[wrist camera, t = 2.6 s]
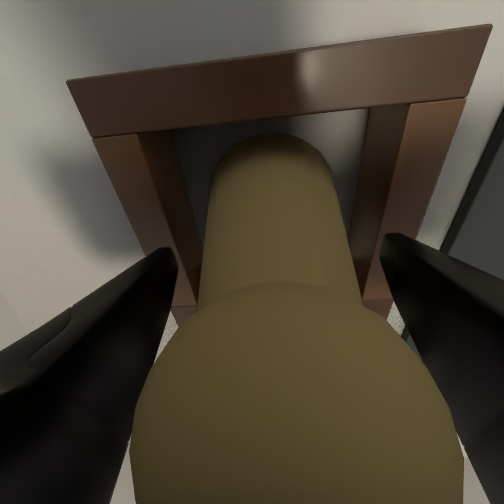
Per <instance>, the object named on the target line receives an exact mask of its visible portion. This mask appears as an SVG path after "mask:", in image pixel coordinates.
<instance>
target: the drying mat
mask: <svg viewBox="0 0 504 504" xmlns="http://www.w3.org/2000/svg"><path fill="white" fill-rule="evenodd" d="M441 252H443V253H445V254H447V255H449V256H452V257H454V258H456V259H458V260H460V261H463V262H465V263H467V264H469V265H471V266H474V267H476V268H478V269H480V270H482V271H485V272H487V273H489V274H491V275H493V276H495V277H498V278H500V279H502V280H504V111H503V113H502V116H501V118H500V120H499V122H498V125H497V127H496V129H495V131H494V133H493V136H492V138H491V140H490V142H489V144H488V147H487V149H486V151H485V153H484V156H483V158H482V160H481V162H480V164H479V167H478V169H477V171H476V173H475V175H474V178H473V180H472V182H471V184H470V187H469V189H468V191H467V193H466V195H465V198H464V200H463V202H462V204H461V206H460V209H459V211H458V213H457V215H456V218H455V220H454V222H453V224H452V226H451V229H450V231H449V233H448V235H447V237H446V240H445V242H444V244H443V246H442V249H441ZM401 338H402V339H403V340H404V341H405V342H406V343H407V345H408V346H409V347H410V348H411V349H412V351H413V352H414V353H415V354H416V355H417V357H418V358H419V359H420V360H421V361H422V359H421V357H420V354H419V352H418V350H417V348H416V346H415V344H414V342H413V340H412V338H411V336H410V334H409V331H408V329H407V327H406V328H405V330H404V333H403V335H402V337H401ZM422 362H423V361H422ZM423 364H424V363H423Z"/></svg>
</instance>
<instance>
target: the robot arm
mask: <svg viewBox="0 0 504 504" xmlns="http://www.w3.org/2000/svg"><path fill="white" fill-rule="evenodd" d="M379 259H380V262H381V265H382V268H383V271H384V274H385V277H386V280H387V283H388V286H389V290H390V292H391V295H392V298H393V300H394V302H395V304H396V306H397V308H398V310H399V313H400V315H401V317H402V319H403V321H404V323H405V325H406V327H407V329H408V331H409V334H410V336H411V338H412V340H413V342H414V344H415V346H416V348H417V350H418V352H419V354H420V357H421V359H422V361H423V363H424V365H425V366H426V367H427V369H428V371H429V373H430V374H431V376H432V378H433V380H434V381H435V383H436V385H437V387H438V389H439V390H440V392H441V394H442V396H443V398H444V399H445V401H446V403H447V405H448V406H449V408H450V412H451V415H452V419H453V422H454V426H455V429H456V432H457V434H458V436H459V438H460V440H461V442H462V445H463V446H465V447H464V449H465V451H466V453H467V456H468V458H469V460H470V462H471V464H472V466H473V468H474V470H475V472H476V474H477V477H478V479H479V480H480V483H481V485H482V487H483V489H484V491H485V493H486V495H487V497H488V500H489V502H490V504H504V280H502V279H500V278H498V277H495V276H493V275H491V274H489V273H487V272H485V271H482V270H480V269H478V268H476V267H474V266H471V265H469V264H467V263H465V262H463V261H460V260H458V259H456V258H454V257H452V256H449V255H447V254H445V253H443V252H441V251H439V250H436V249H434V248H432V247H430V246H428V245H425V244H423V243H421V242H419V241H417V240H414V239H412V238H410V237H408V236H406V235H403V234H401V233H398V232H395V233H386V234H385V235H384V237H383V240H382V244H381V248H380V252H379ZM177 275H178V263H177V260H176V257H175V255H174V252H173V250H172V248H171V247H160V248H158V249H156V250H155V251H153V252H152V253H150V254H149V255H147V256H146V257H144V258H143V259H141V260H140V261H138V262H137V263H136V264H134V265H133V266H131V267H130V268H128V269H127V270H125V271H124V272H122V273H121V274H119V275H118V276H116V277H115V278H113V279H112V280H110V281H109V282H107V283H106V284H104V285H103V286H101V287H100V288H98V289H97V290H95V291H94V292H92V293H91V294H89V295H88V296H86V297H85V298H83V299H82V300H80V301H79V302H77V303H76V304H74V305H73V306H72V307H70V308H68V309H67V310H65V311H64V312H62V313H61V314H59V315H58V316H56V317H55V318H53V319H52V320H50V321H49V322H47V323H45V324H44V325H42V326H41V327H39V328H38V329H36V330H34V331H33V332H31V333H29V334H28V335H26V336H25V337H23V338H21V339H20V340H18V341H16V342H15V343H13V344H11V345H10V346H8V347H7V348H5V349H3V350H2V351H0V504H110V501H111V498H112V494H113V491H114V488H115V484H116V482H117V479H118V476H119V472H120V469H121V466H122V463H123V460H124V457H125V453H126V450H127V447H128V444H129V443H128V441H129V440H130V437H131V434H132V428H133V422H134V415H135V408H136V404H137V402H138V399H139V397H140V394H141V392H142V389H143V386H144V384H145V381H146V379H147V376H148V374H149V371H150V369H151V367H152V366H153V364H154V361H155V357H156V354H157V351H158V348H159V345H160V341H161V338H162V335H163V332H164V329H165V326H166V322H167V319H168V316H169V313H170V309H171V306H172V302H173V297H174V291H175V286H176V281H177Z"/></svg>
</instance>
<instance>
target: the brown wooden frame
mask: <svg viewBox="0 0 504 504" xmlns="http://www.w3.org/2000/svg"><path fill="white" fill-rule="evenodd" d="M492 27H493V25H492V24H484V25H476V26H469V27H461V28H454V29H446V30H438V31H431V32H423V33H416V34H408V35H401V36H393V37H386V38H378V39H371V40H363V41H356V42H348V43H341V44H333V45H326V46H318V47H311V48H303V49H296V50H288V51H281V52H273V53H266V54H258V55H251V56H243V57H236V58H228V59H221V60H213V61H206V62H198V63H191V64H183V65H176V66H168V67H161V68H153V69H146V70H138V71H131V72H123V73H116V74H108V75H100V76H93V77H85V78H78V79H70V80H67V81H66V84H67V86H68V88H69V90H70V92H71V95H72V97H73V99H74V101H75V103H76V105H77V108H78V110H79V112H80V114H81V116H82V118H83V121H84V123H85V125H86V127H87V129H88V131H89V134H90V136H91V137H93V138H92V141H93V143H94V145H95V147H96V150H97V152H98V154H99V156H100V158H101V160H102V163H103V165H104V167H105V169H106V171H107V173H108V175H109V178H110V180H111V182H112V184H113V186H114V188H115V191H116V193H117V195H118V197H119V199H120V201H121V204H122V206H123V208H124V210H125V212H126V214H127V217H128V219H129V221H130V223H131V225H132V227H133V230H134V232H135V234H136V236H137V238H138V240H139V243H140V245H141V247H142V249H143V251H144V253H145V256H147V255H149V254H150V253H152V252H153V251H155V250H156V249H158V248H160V247H171V248H172V250H173V252H174V255H175V257H176V260H177V263H178V275H177V281H176V286H175V291H174V297H173V302H172V306H171V309H170V310H171V312H172V314H173V316H174V318H175V320H176V323H177V324H178V327H179V326H180V325H181V323H182V322H183V321H184V320H185V319H187V318H188V317H190V316H192V315H193V314H195V313H196V312H197V304H198V295H199V286H200V276H201V267H202V258H203V247H202V244H201V240H200V237H199V233H198V229H197V226H196V222H195V219H194V215H193V211H192V208H191V204H190V200H189V197H188V193H187V190H186V186H185V182H184V179H183V175H182V172H181V168H180V164H179V161H178V157H177V154H176V150H175V146H174V143H173V139H172V136H171V132H170V129H179V128H188V127H198V126H207V125H216V124H225V123H234V122H244V121H253V120H262V119H271V118H281V117H290V116H299V115H308V114H317V113H327V112H336V111H345V110H354V109H364V108H370V113H369V119H368V125H367V131H366V137H365V143H364V150H363V156H362V162H361V168H360V174H359V180H358V186H357V192H356V198H355V204H354V211H353V217H352V223H351V229H350V235H349V241H348V244H349V248H350V252H351V256H352V260H353V265H354V269H355V273H356V277H357V281H358V286H359V290H360V294H361V298H362V302H363V306H364V307H366V308H368V309H369V310H371V311H373V312H375V313H377V314H379V315H381V316H383V317H384V318H385V320H387V317H388V315H389V312H390V309H391V307H392V304H393V301H394V300H393V298H392V295H391V292H390V290H389V286H388V283H387V280H386V277H385V274H384V271H383V268H382V265H381V262H380V259H379V252H380V248H381V244H382V240H383V237H384V235H385V234H386V233H395V232H398V233H401V234H403V235H406V236H408V237H410V238H412V239H414V240H416V238H417V235H418V232H419V229H420V227H421V224H422V221H423V218H424V216H425V213H426V210H427V207H428V205H429V202H430V199H431V196H432V194H433V191H434V188H435V185H436V183H437V180H438V177H439V174H440V172H441V169H442V166H443V163H444V161H445V158H446V155H447V152H448V150H449V147H450V144H451V141H452V139H453V136H454V133H455V130H456V128H457V125H458V122H459V119H460V116H461V114H462V111H463V108H464V105H465V103H466V100H467V99H466V98H464V97H466V96H467V95H468V93H469V91H470V88H471V85H472V82H473V80H474V77H475V74H476V71H477V69H478V66H479V63H480V60H481V58H482V55H483V52H484V49H485V47H486V44H487V41H488V38H489V36H490V33H491V30H492Z"/></svg>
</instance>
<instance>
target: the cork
mask: <svg viewBox="0 0 504 504" xmlns="http://www.w3.org/2000/svg"><path fill="white" fill-rule="evenodd" d="M129 454H130V462H131V470H132V477H133V485H134V493H135V501H136V504H463V478H464V457H463V453H462V450H461V446H460V443H459V440H458V436H457V433H456V429H455V426H454V422H453V419H452V415H451V412H450V408H449V406H448V405H447V403H446V401H445V399H444V398H443V396H442V394H441V392H440V390H439V389H438V387H437V385H436V383H435V381H434V380H433V378H432V376H431V374H430V373H429V371H428V369H427V367H426V366H425V365H424V364H423V362H422V361H421V360H420V359H419V358H418V357H417V355H416V354H415V353H414V352H413V351H412V349H411V348H410V347H409V346H408V345H407V343H406V342H405V341H404V340H403V339H402V338H401V337H400V335H399V334H398V333H397V332H396V331H395V330H394V329H393V327H392V326H391V325H390V324H389V323H388V322H387V321H386V320H385V318H384V317H383V316H381V315H379V314H377V313H375V312H373V311H371V310H369V309H368V308H366V307H364V306H363V302H362V298H361V294H360V290H359V286H358V281H357V277H356V273H355V269H354V265H353V260H352V256H351V252H350V248H349V244H348V239H347V235H346V231H345V227H344V223H343V218H342V214H341V210H340V206H339V202H338V197H337V193H336V189H335V185H334V181H333V176H332V172H331V168H330V167H329V165H328V164H327V162H326V161H325V159H324V158H323V156H322V155H321V153H320V152H319V151H318V150H316V149H315V148H314V147H312V146H311V145H309V144H308V143H306V142H305V141H304V140H302V139H299V138H296V137H292V136H288V135H284V134H281V133H278V134H266V135H256V136H254V137H252V138H250V139H248V140H245V141H243V142H241V143H239V144H236V145H235V146H234V147H233V148H232V149H231V150H230V151H229V152H228V153H227V154H226V155H225V156H224V157H223V158H222V159H221V160H220V162H219V164H218V166H217V168H216V170H215V172H214V174H213V176H212V179H211V186H210V194H209V203H208V212H207V221H206V230H205V239H204V249H203V258H202V267H201V276H200V286H199V295H198V304H197V312H196V313H195V314H193V315H192V316H190V317H188V318H187V319H185V320H184V321H183V322H182V323H181V325H180V326H179V328H178V329H177V330H176V332H175V333H174V335H173V336H172V338H171V339H170V340H169V342H168V343H167V345H166V346H165V348H164V349H163V351H162V352H161V354H160V355H159V357H158V358H157V360H156V361H155V363H154V364H153V366H152V367H151V369H150V371H149V374H148V376H147V379H146V381H145V384H144V386H143V389H142V392H141V394H140V397H139V399H138V402H137V404H136V408H135V415H134V422H133V428H132V435H131V442H130V449H129Z"/></svg>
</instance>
